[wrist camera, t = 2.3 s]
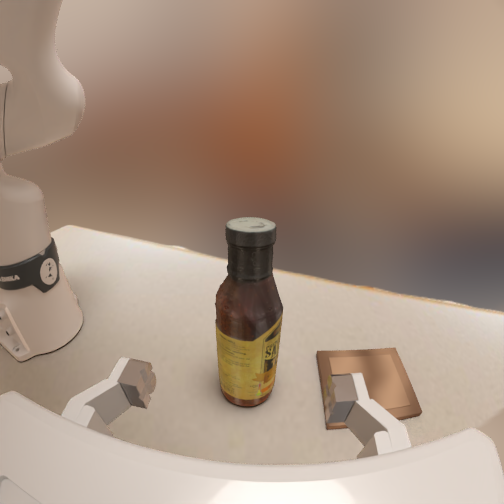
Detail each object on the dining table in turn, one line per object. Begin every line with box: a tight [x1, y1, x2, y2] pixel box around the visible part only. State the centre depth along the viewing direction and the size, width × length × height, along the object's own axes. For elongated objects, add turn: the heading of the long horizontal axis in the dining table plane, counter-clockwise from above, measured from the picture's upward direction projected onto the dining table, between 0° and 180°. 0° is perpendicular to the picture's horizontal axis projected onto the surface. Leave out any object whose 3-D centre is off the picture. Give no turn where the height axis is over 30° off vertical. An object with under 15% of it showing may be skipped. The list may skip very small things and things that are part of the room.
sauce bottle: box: [215, 217, 283, 406], centre depth 25 cm, size 7×6×20 cm
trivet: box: [316, 348, 422, 429], centre depth 28 cm, size 12×12×1 cm
